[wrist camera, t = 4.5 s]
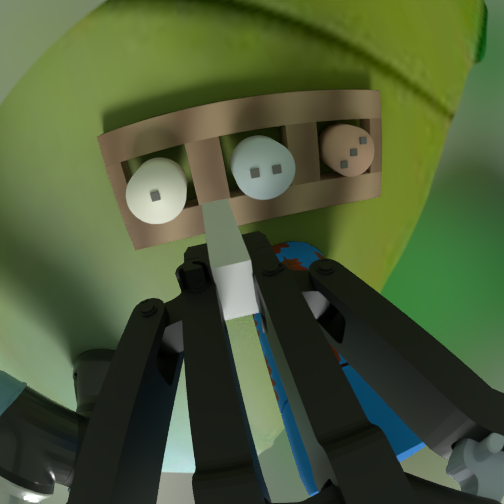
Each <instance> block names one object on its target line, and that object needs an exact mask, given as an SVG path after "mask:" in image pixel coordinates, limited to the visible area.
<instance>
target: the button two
mask: <svg viewBox="0 0 504 504" xmlns="http://www.w3.org/2000/svg"><path fill="white" fill-rule="evenodd" d="M230 168H231V171H232V174H233V176H234V178H235V180H236V182H237V184H238V186H239V188H240V189H241V190H242V191H243V192H244V193H245V194H246V195H248V196H250V197H252V198H254V199H260V200H267V199H272V198H275V197H277V196H279V195H281V194H282V193H284V192H285V191H286V190H287V189H288V188H289V186H290V185H291V183H292V181H293V179H294V175H295V162H294V158H293V156H292V154H291V153H290V152H289V150H288V149H287V148H286V147H284V146H283V145H281V144H280V143H278V142H276V141H275V140H273V139H272V138H269V137H267V136H262V135H256V136H250V137H248V138H246V139H244V140H242V141H241V142H240V143H239V144H238V145H237V146H236V147H235V148H234V150H233V152H232V155H231V159H230Z"/></svg>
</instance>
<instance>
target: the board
mask: <svg viewBox="0 0 504 504" xmlns="http://www.w3.org/2000/svg"><path fill="white" fill-rule="evenodd" d="M347 119H360V128H362V129H364V130H365V131H366V132H367V133H368V134H369V135H370V136H371V138H372V140H373V143H374V158H373V161H372V163H371V165H370V166H369V168H368V169H367V170H366V171H365V172H363V173H362V174H360V175H358V176H354V177H347V176H344V175H342V174H340V173H338V172H337V171H336V172H329V173H323V174H320V165H319V150H318V137H317V126H316V122H319V121H332V120H347ZM276 126H280V133H281V142H282V145H283V146H284V147H286V148H287V149H288V150H289V152H290V153H291V154H292V156H293V158H294V162H295V175H294V179H293V181H292V183H291V185H290V186H289V188H288V189H287V190H286V191H285V192H284V193H282V194H281V195H279V196H277V197H275V198H272V199H267V200H260V199H254V198H252V197H250V196H248V195H246V194H245V193H244V192H243V191H242V190H241V189H236V190H232V191H229V188H228V183H227V177H226V172H225V167H224V162H223V157H222V151H221V146H220V141H219V136H223V135H228V134H233V133H238V132H244V131H250V130H256V129H262V128H269V127H276ZM97 139H98V142H99V146H100V149H101V153H102V156H103V160H104V163H105V166H106V170H107V173H108V176H109V179H110V182H111V185H112V188H113V191H114V194H115V197H116V200H117V203H118V206H119V209H120V212H121V214H122V217H123V220H124V222H125V225H126V228H127V230H128V233H129V235H130V238H131V241H132V243H133V246H134V248H135V250H139V249H142V248H146V247H150V246H154V245H158V244H162V243H167V242H171V241H175V240H179V239H183V238H187V237H191V236H196V235H200V234H204V233H205V226H204V219H203V211H202V204H203V203H208V202H212V201H217V200H222V199H228V202H229V204H230V207H231V210H232V212H233V215H234V217H235V220H236V223H237V225H238V226H239V225H243V224H248V223H253V222H257V221H262V220H266V219H271V218H276V217H280V216H285V215H290V214H295V213H299V212H304V211H309V210H314V209H319V208H324V207H329V206H334V205H339V204H344V203H350V202H355V201H360V200H366V199H371V198H376V197H380V195H381V171H382V125H381V102H380V91H379V90H365V89H334V90H310V91H295V92H284V93H274V94H265V95H257V96H250V97H243V98H237V99H231V100H225V101H220V102H214V103H209V104H205V105H200V106H195V107H191V108H186V109H182V110H178V111H174V112H170V113H166V114H163V115H159V116H156V117H152V118H149V119H145V120H142V121H139V122H135V123H132V124H129V125H126V126H123V127H120V128H117V129H114V130H112V131H109V132H106V133H103V134H101V135H99V136H97ZM182 144H185V148H186V152H187V157H188V161H189V166H190V170H191V174H192V178H193V182H194V187H195V191H196V195H197V198H196V199H192V200H188V201H186V202H185V205H184V207H183V209H182V211H181V212H180V214H179V215H178V216H177V217H175V218H174V219H173V220H171V221H169V222H166V223H163V224H150V223H146V222H144V221H141V220H140V219H138V218H137V217H136V216H135V215H134V214H133V213H132V212H131V211H130V209H129V207H128V205H127V201H126V188H127V185H128V183H129V181H130V179H131V175H130V172H129V168H128V165H127V161H126V160H129V159H132V158H135V157H139V156H142V155H145V154H149V153H152V152H156V151H159V150H163V149H167V148H171V147H174V146H178V145H182Z"/></svg>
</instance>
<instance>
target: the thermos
mask: <svg viewBox="0 0 504 504" xmlns="http://www.w3.org/2000/svg"><path fill="white" fill-rule="evenodd" d="M272 248H273V250H274V252H275V254H276V256H277V258H278V259H279V261H280V262H282V263H284V264H285V265H286V266H287V267H288V269H291V270H309V266H310V264H311V263H312V262H314V261H316V260H319V259H326V258H325V257H324V256H323V255H322V253H321V252H320V251H319V250H318V249H317V248H315V247H314V246H312V245H310V244H308V243H304V242H295V241H291V242H287V243H282V244H277V245H275V246H274V247H272ZM258 310H259V308H258ZM252 315H253V319H254V322H255V326H256V329H257V333H258V336H259V340H260V343H261V347H262V350H263V354H264V357H265V361H266V364H267V368H268V371H269V375H270V378H271V382H272V385H273V388H274V392H275V395H276V399H277V402H278V405H279V409H280V412H281V414H282V415H281V416H282V419H283V422H284V426H285V429H286V432H287V436H288V438H289V442H290V445H291V449H292V452H293V455H294V458H295V462H296V465H297V468H298V471H299V474H300V478H301V480H302V482H303V484H304V486H305V488H306V490H307V492H308V494H309V496H313V495H315V494H317V493H319V492H318V489H317V486H316V483H315V480H314V477H313V473H312V467H311V464H310V461H309V458H308V455H307V452H306V449H305V447H304V444H303V441H302V438H301V435H300V433H299V430H298V427H297V424H296V421H295V418H294V415H293V413H292V410H291V407H290V404H289V401H288V398H287V395H286V392H285V390H284V387H283V384H282V381H281V378H280V375H279V372H278V369H277V366H276V363H275V360H274V357H273V354H272V352H271V349H270V346H269V343H268V340H267V337H266V334H265V333H263V329H262V323H261V316H260V311H259V313H255V314H252ZM328 343H329V342H328ZM329 344H330V343H329ZM330 346H331V348H332V350H333V352H334V354H335V356H336V358H337V360H338V362H339V364H340V365H341V367H342V369H343V371H344V373H345V375H346V377H347V379H348V381H349V383H350V385H351V387H352V389H353V391H354V393H355V395H356V397H357V399H358V401H359V403H360V405H361V407H362V409H363V411H364V413H365V415H366V417H367V418H368V420H369V421H370V422H371V423H372V424H375V425H378V426H379V427H380V428H381V429H382V430H383V432H384V433H385V435H386V437H387V439H388V441H389V443H390V445H391V447H392V449H393V451H394V453H395V455H396V457H397V459H398V461H399V462H400V461H403V460H404V459H406V458H408V457H409V456H411V455H412V454H414V453H416V452H417V451H419V450H420V449H422V448H423V447H425V446H426V444H424V443H423V442H422V441H421V440H420V439H419V438H418V436H417V435H416V434H415V433H414V432H413V431H412V430H411V429H410V428H409V427H408V426H407V425H406V424H405V423H404V422H403V421H402V420H401V419H400V418H399V416H398V415H397V414H396V413H395V412H394V411H393V410H392V409H391V408H390V407H389V406H388V405H387V404H386V403H385V402H384V401H383V400H382V399H381V397H380V396H379V395H378V394H377V393H376V392H375V391H374V390H373V389H372V388H371V387H370V386H369V385H368V384H367V383H366V382H365V380H364V379H363V378H362V377H361V376H360V375H359V374H358V373H357V372H356V371H355V370H354V369H353V368H352V367H351V366H350V365H349V363H348V362H347V361H346V360H345V359H344V358H343V357H342V356H341V355H340V354H339V353H338V352H337V351H336V350H335V349H334V347H333V346H332V345H331V344H330Z"/></svg>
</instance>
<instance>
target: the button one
mask: <svg viewBox="0 0 504 504" xmlns="http://www.w3.org/2000/svg"><path fill="white" fill-rule="evenodd" d="M186 193H187V178H186V175H185V172H184V171H183V169H182V168H181V167H180V165H179V164H177V163H176V162H175V161H173V160H171V159H168V158H161V157H159V158H152V159H150V160H148V161H146V162H144V163H143V164H142V165H141V166H140V167H139V168H138V169H137V171H136V172H135V173H134V175H133V176H132V178H131V179H130V181H129V183H128V185H127V188H126V201H127V205H128V207H129V209H130V211H131V212H132V213H133V214H134V215H135V216H136V217H137V218H138V219H140V220H141V221H144V222H146V223H150V224H163V223H166V222H169V221H171V220H173V219H174V218H175V217H177V216H178V215H179V214H180V212H181V211H182V209H183V207H184V205H185V202H186Z"/></svg>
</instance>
